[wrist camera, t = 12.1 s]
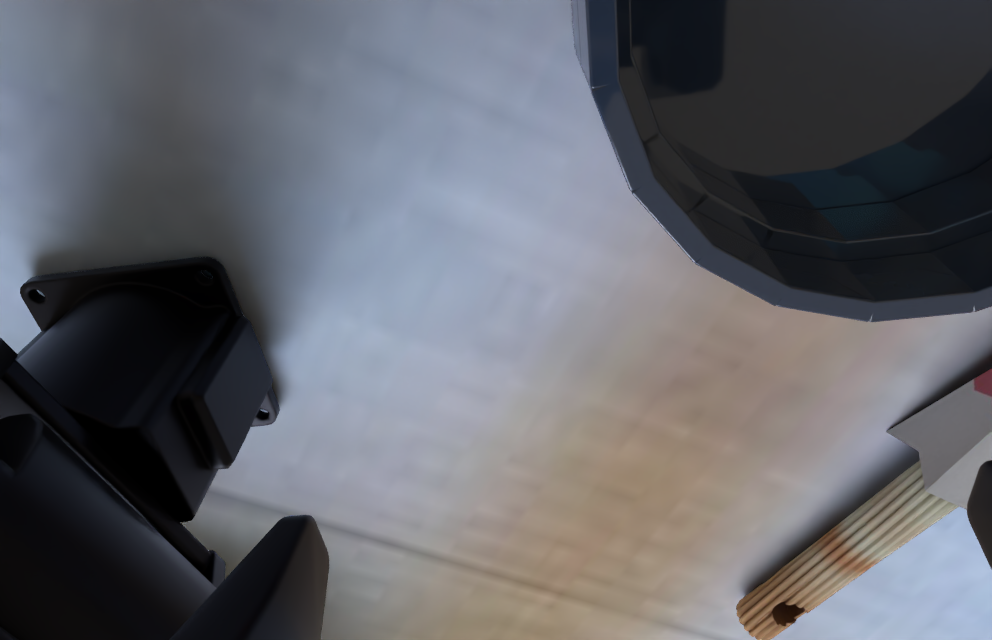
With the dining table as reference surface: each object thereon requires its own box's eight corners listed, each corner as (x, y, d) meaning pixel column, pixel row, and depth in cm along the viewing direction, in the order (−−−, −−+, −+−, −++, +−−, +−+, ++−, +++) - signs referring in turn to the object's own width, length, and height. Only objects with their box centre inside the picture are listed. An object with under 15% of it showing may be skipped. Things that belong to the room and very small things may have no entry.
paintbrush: (1328, 323, 18) (796, 664, 28) (1238, 270, 20) (776, 604, 30) (1237, 262, 17) (722, 638, 27) (1153, 213, 19) (707, 577, 29)
